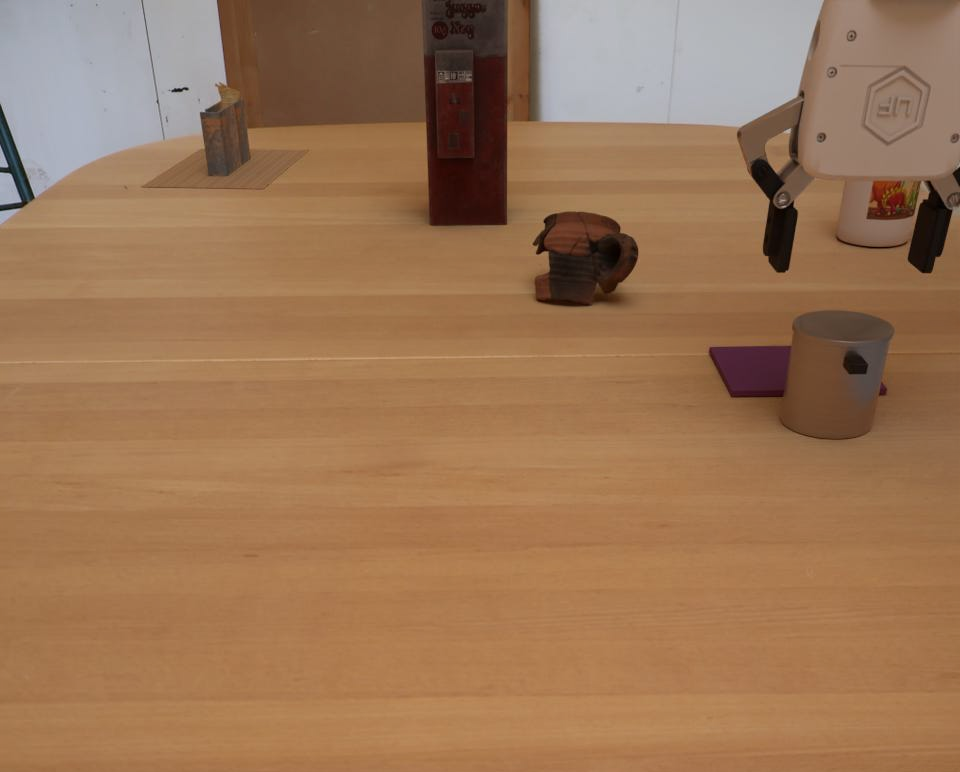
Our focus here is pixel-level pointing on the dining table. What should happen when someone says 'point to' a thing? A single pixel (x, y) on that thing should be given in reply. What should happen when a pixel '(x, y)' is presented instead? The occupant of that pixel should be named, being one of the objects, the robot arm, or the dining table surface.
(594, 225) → the pottery mug
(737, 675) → the dining table surface
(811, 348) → the pot
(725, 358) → the flat purple board
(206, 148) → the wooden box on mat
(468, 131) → the toy vending machine
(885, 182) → the milk bottle
